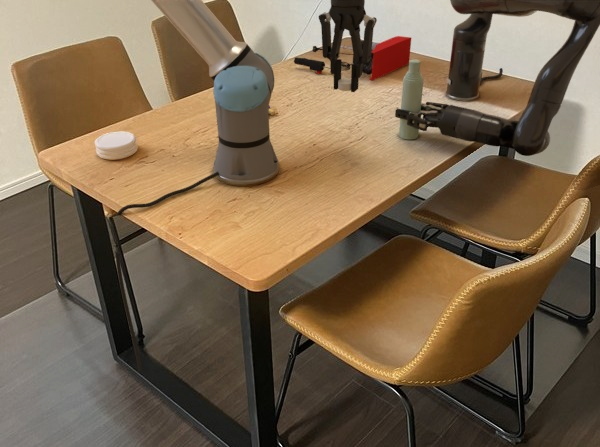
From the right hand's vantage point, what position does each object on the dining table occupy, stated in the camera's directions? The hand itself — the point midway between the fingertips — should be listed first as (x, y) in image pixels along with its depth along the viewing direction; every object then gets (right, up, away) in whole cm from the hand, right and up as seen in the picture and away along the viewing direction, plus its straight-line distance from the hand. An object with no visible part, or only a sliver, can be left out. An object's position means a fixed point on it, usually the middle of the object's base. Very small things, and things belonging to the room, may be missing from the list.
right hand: (401, 109), depth 159 cm
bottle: (+2, -6, +2) cm, 7 cm away
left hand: (-15, +3, -11) cm, 19 cm away
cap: (-15, +4, -12) cm, 20 cm away
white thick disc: (-72, -11, -4) cm, 73 cm away
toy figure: (-39, +3, +18) cm, 43 cm away
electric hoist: (-9, +24, +50) cm, 56 cm away
